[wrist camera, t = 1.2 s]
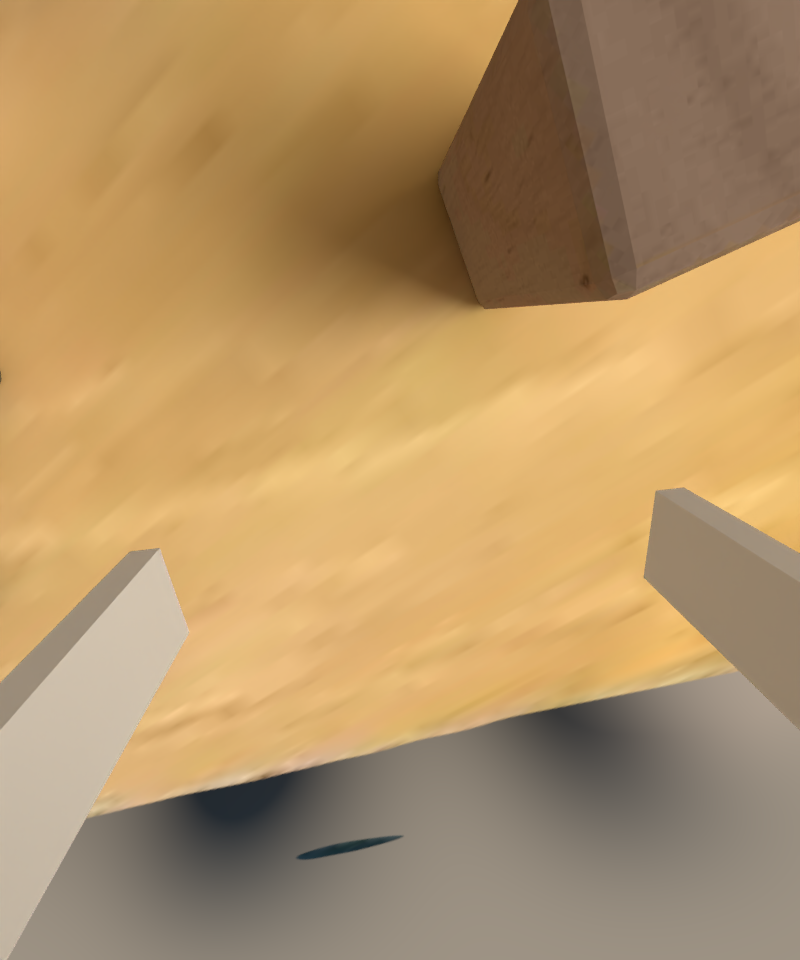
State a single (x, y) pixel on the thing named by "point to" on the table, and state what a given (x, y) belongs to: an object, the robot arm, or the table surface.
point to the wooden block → (624, 146)
